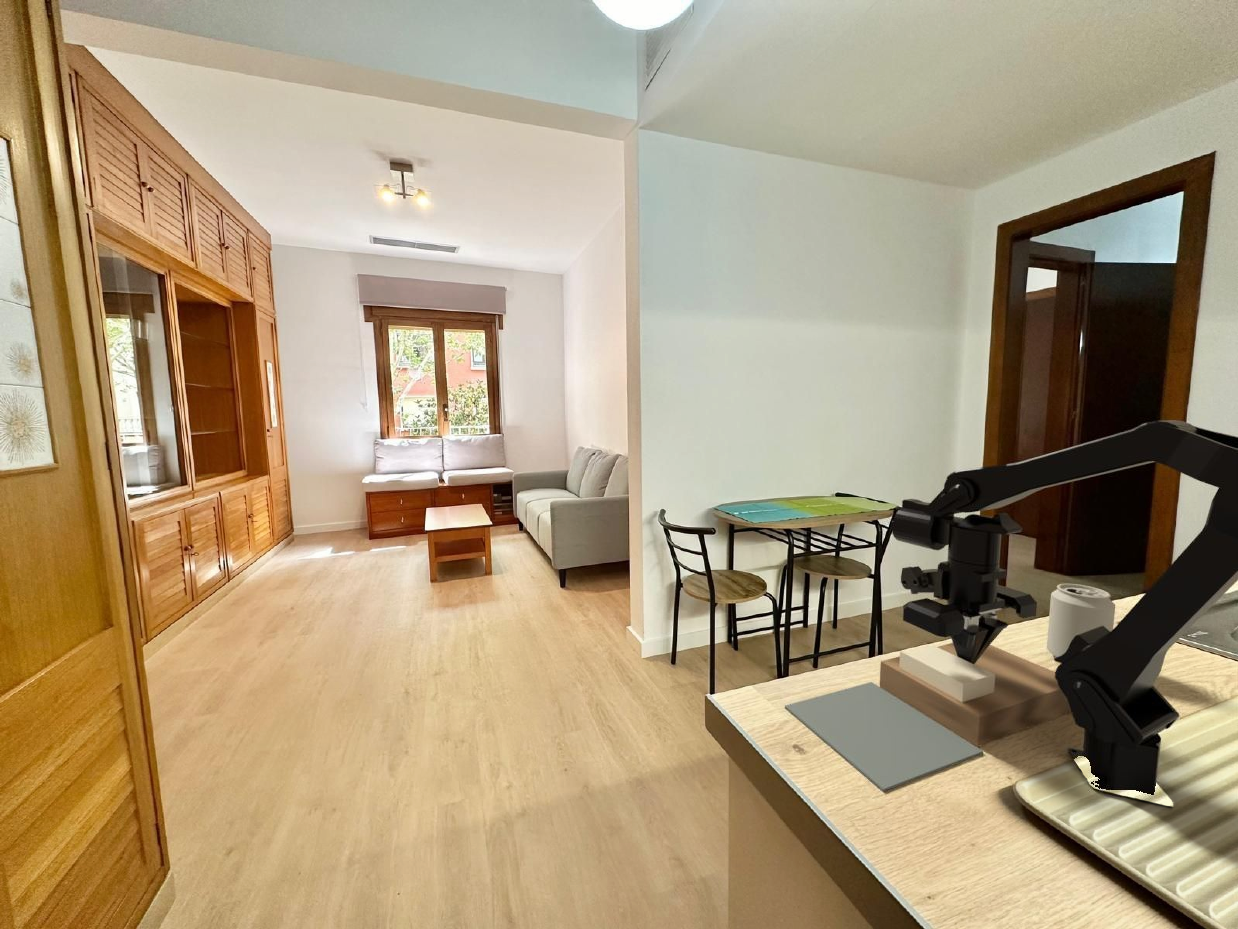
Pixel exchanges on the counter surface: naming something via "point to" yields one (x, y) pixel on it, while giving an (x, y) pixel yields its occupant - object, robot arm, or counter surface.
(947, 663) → the tile
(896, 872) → the counter surface
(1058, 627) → the can
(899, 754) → the mat
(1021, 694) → the block
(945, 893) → the counter surface
